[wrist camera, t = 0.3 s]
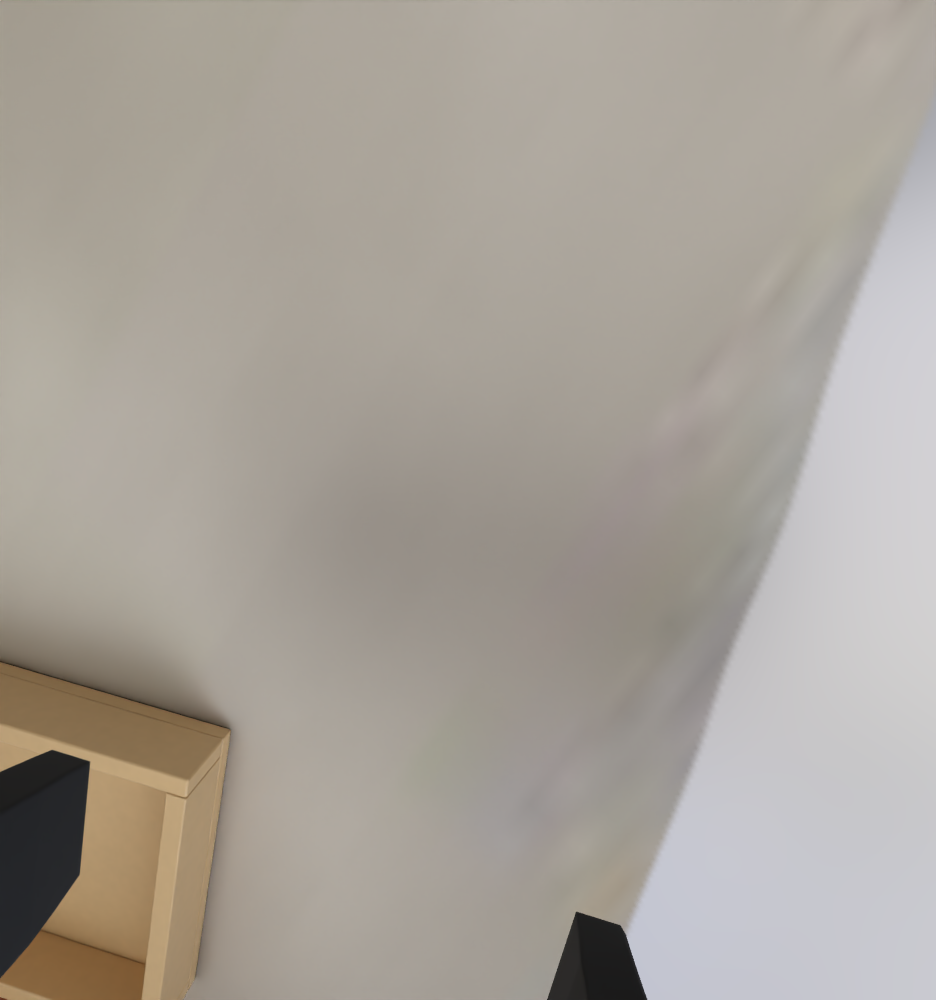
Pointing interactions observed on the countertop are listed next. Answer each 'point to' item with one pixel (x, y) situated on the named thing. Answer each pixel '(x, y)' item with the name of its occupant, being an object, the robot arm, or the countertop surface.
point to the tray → (120, 841)
